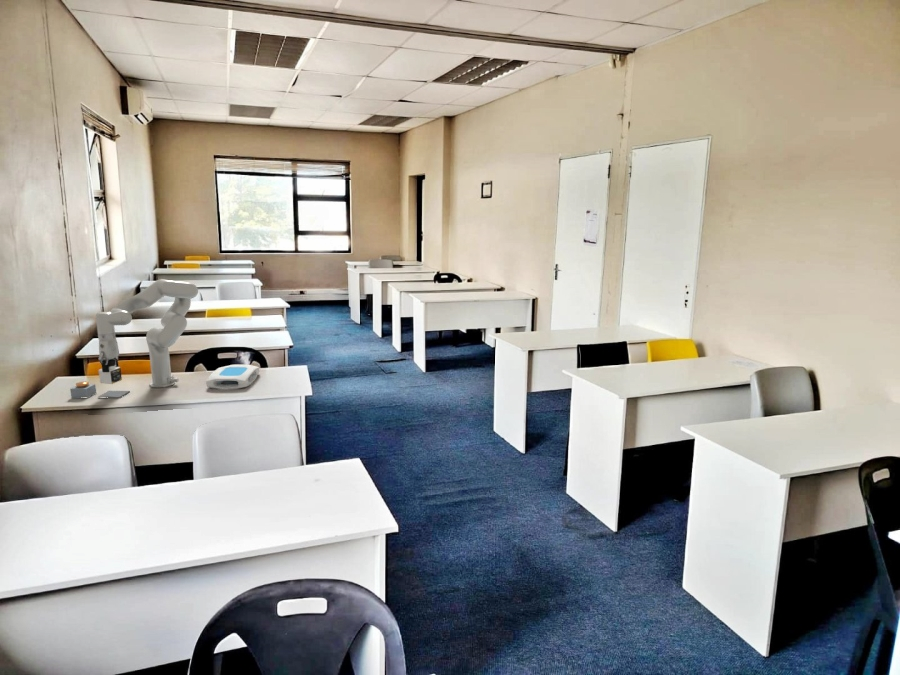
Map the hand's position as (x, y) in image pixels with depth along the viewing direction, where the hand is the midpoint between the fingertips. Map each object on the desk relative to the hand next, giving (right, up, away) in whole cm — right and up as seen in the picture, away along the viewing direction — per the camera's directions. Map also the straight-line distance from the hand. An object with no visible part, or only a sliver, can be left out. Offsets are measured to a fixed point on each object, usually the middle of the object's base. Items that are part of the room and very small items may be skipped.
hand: (110, 369), depth 303 cm
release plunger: (-15, -13, +2) cm, 20 cm away
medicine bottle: (-1, -7, +2) cm, 7 cm away
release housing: (-15, -14, +2) cm, 20 cm away
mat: (0, -14, +3) cm, 14 cm away
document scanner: (+53, -9, +29) cm, 61 cm away
